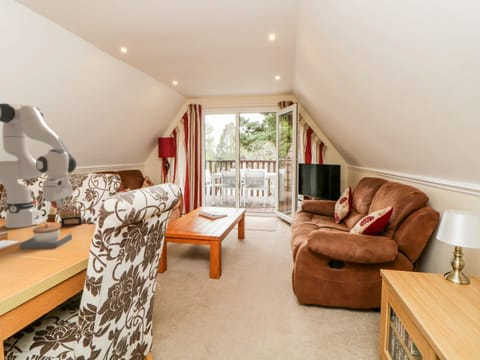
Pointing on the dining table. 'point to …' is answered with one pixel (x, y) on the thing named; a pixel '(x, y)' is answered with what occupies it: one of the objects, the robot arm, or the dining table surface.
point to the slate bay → (44, 243)
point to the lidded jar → (46, 233)
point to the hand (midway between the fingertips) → (60, 206)
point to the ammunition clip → (71, 217)
